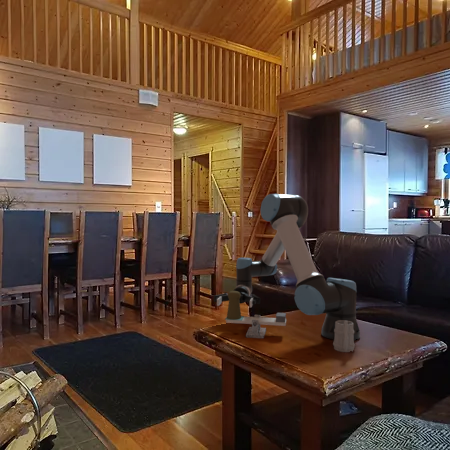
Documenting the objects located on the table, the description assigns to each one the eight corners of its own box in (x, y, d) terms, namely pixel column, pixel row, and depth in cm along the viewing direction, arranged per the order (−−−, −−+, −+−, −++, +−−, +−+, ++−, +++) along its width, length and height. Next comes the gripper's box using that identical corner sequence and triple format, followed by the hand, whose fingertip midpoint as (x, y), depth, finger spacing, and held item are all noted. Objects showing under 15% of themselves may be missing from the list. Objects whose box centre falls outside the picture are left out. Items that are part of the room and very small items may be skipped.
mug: (353, 346, 158) (354, 314, 158) (357, 357, 147) (358, 322, 146) (332, 345, 160) (333, 313, 159) (334, 355, 148) (335, 321, 148)
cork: (244, 318, 175) (244, 291, 175) (232, 320, 172) (232, 293, 171) (235, 315, 180) (235, 289, 180) (223, 317, 176) (224, 290, 176)
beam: (286, 321, 175) (286, 312, 175) (285, 325, 168) (285, 316, 168) (227, 318, 180) (227, 309, 180) (224, 322, 173) (224, 313, 173)
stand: (265, 330, 179) (266, 314, 179) (263, 338, 168) (263, 321, 167) (249, 329, 181) (249, 313, 180) (245, 337, 169) (246, 320, 169)
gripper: (268, 303, 194) (264, 314, 173) (214, 300, 198) (204, 310, 177) (268, 287, 194) (264, 295, 173) (214, 284, 198) (204, 293, 177)
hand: (234, 303), depth 175 cm, fingers open, 13 cm apart
